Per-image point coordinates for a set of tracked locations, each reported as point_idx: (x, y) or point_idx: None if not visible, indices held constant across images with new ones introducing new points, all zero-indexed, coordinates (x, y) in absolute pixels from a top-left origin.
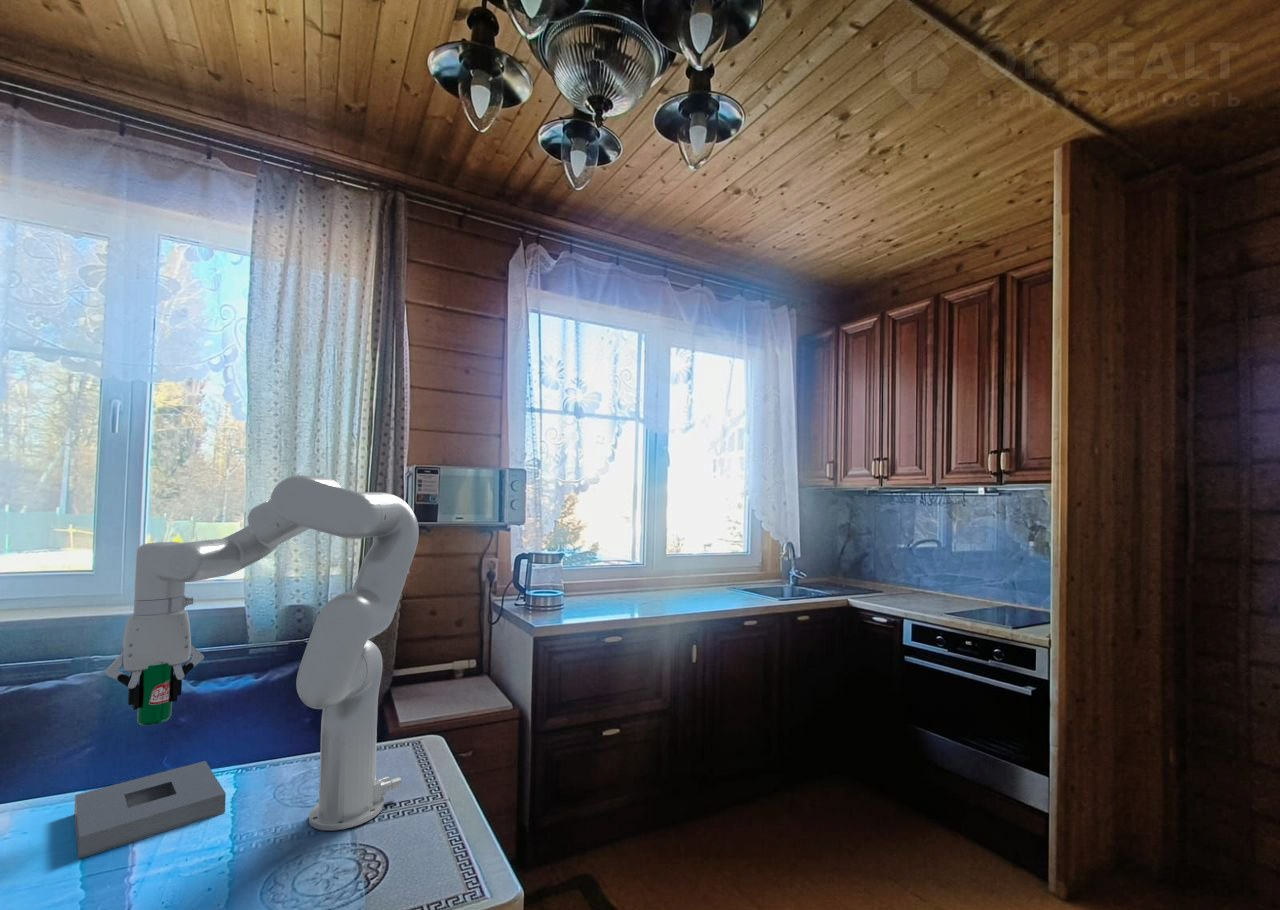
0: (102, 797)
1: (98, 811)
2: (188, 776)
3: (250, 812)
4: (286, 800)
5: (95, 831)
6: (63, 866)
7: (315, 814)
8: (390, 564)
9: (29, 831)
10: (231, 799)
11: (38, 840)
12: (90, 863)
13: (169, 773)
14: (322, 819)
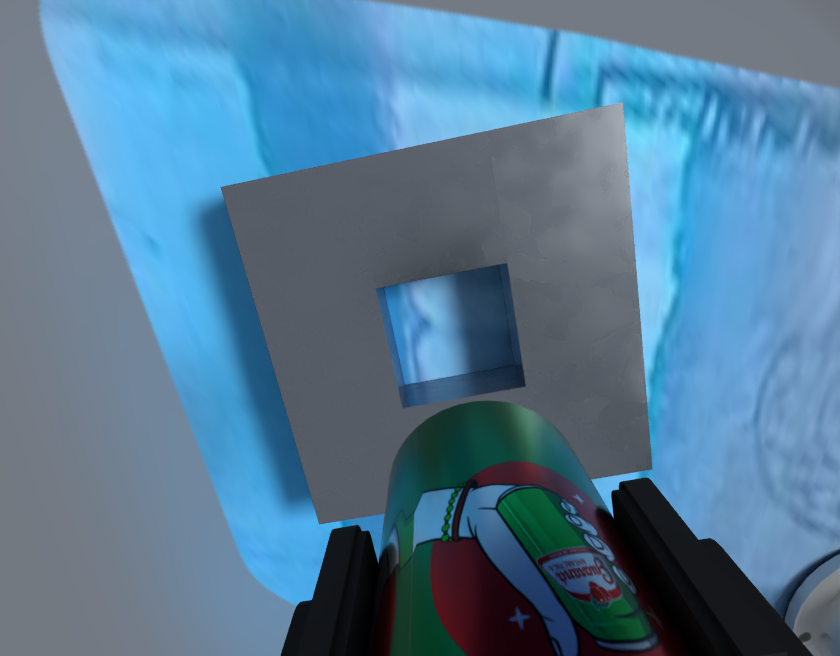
0: (314, 272)
1: (327, 385)
2: (559, 249)
3: (683, 475)
4: (775, 459)
5: (348, 514)
6: (307, 503)
7: (810, 622)
8: None
9: (160, 243)
10: (652, 361)
11: (206, 323)
12: (359, 522)
13: (498, 169)
14: (815, 651)
